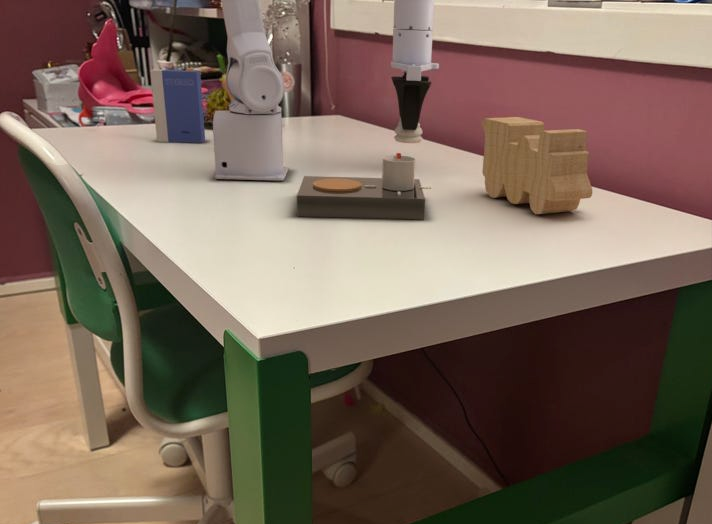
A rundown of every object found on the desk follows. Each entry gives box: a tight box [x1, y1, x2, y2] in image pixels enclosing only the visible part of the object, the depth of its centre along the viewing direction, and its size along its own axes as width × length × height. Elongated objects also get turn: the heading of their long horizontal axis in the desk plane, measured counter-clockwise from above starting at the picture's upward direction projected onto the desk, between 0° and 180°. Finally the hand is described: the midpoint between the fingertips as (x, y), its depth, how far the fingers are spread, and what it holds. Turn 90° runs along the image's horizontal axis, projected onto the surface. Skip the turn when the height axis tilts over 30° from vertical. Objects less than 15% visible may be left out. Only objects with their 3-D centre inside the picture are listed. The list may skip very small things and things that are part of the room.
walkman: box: [149, 67, 206, 144], centre depth 128 cm, size 8×3×12 cm, turn 91°
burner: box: [313, 179, 362, 192], centre depth 91 cm, size 6×6×1 cm
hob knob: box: [381, 152, 416, 191], centre depth 91 cm, size 4×4×4 cm
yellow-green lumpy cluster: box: [204, 73, 231, 127], centre depth 148 cm, size 17×16×10 cm
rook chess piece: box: [393, 116, 424, 144], centre depth 112 cm, size 4×4×8 cm
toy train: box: [481, 116, 593, 215], centre depth 95 cm, size 6×17×10 cm, turn 27°
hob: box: [296, 175, 432, 221], centre depth 92 cm, size 16×11×3 cm
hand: (408, 127), depth 113 cm, fingers closed on rook chess piece, 3 cm apart
